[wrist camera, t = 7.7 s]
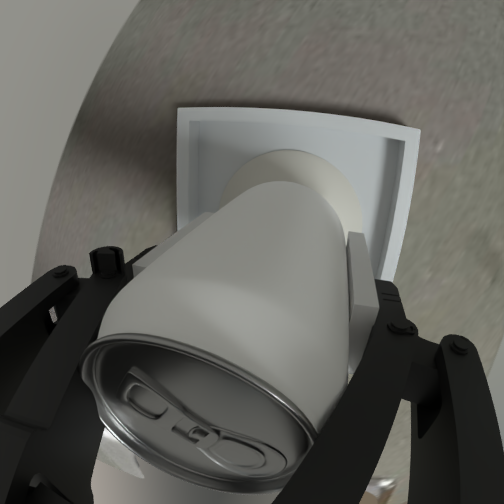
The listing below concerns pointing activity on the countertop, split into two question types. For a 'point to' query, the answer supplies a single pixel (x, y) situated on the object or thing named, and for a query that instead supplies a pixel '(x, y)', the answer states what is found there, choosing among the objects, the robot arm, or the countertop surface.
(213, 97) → the countertop surface
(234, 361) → the can
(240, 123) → the flange tray
